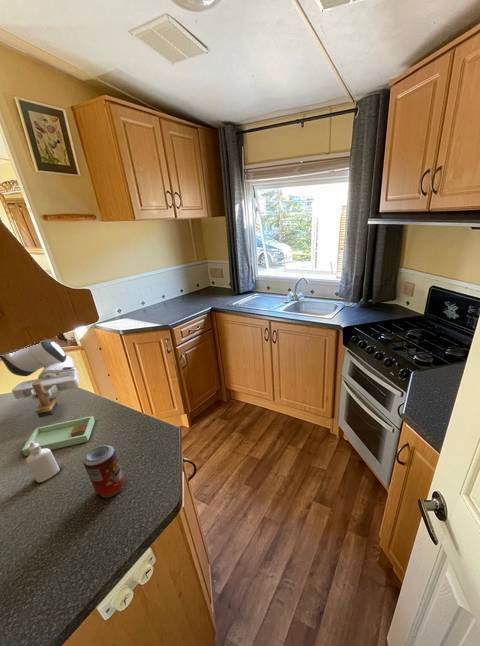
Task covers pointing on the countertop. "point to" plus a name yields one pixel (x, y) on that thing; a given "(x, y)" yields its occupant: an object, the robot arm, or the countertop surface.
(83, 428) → the wooden block
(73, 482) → the countertop surface
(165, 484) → the countertop surface
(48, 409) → the brush
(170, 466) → the countertop surface
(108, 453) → the soda can
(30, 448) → the eye dropper bottle
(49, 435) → the tray
